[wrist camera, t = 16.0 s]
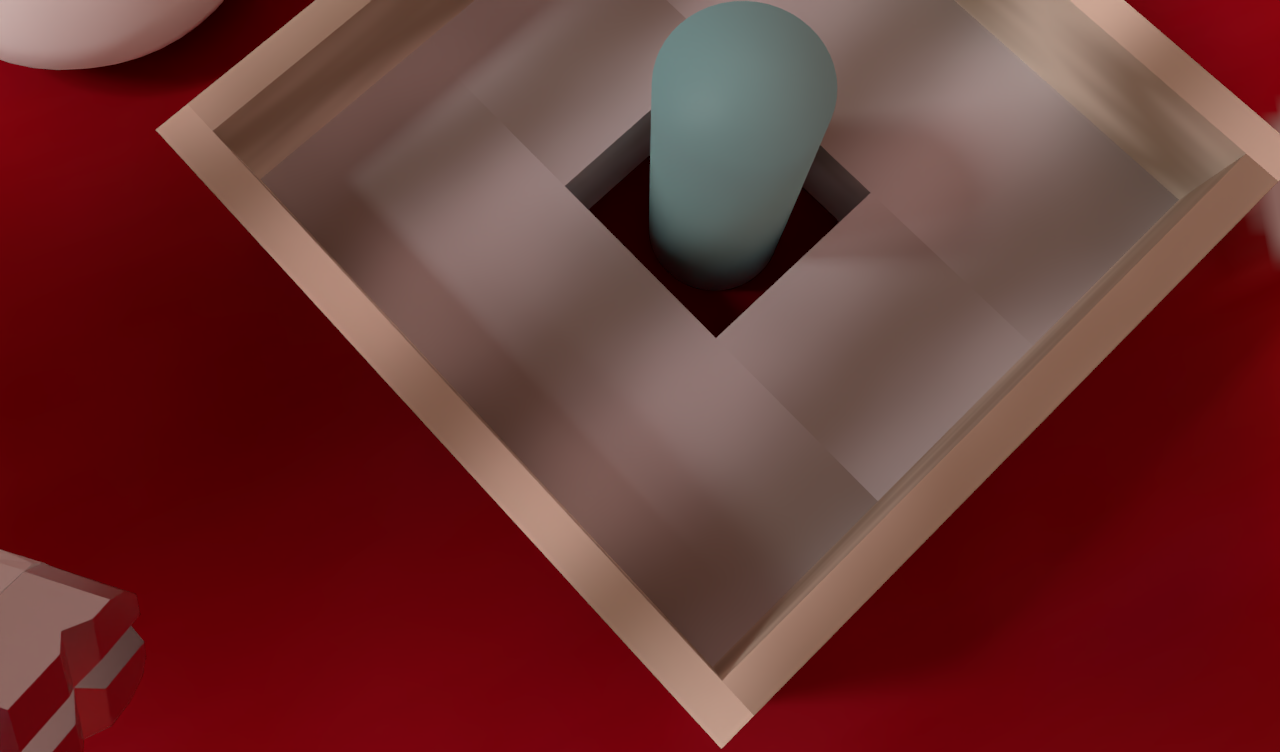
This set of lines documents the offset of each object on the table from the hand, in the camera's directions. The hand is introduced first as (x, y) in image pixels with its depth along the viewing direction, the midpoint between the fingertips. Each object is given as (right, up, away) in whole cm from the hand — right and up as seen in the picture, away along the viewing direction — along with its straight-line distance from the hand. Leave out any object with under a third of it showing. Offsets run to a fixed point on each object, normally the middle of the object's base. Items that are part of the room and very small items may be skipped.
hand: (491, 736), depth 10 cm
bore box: (+4, +8, +19) cm, 21 cm away
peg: (+4, +8, +19) cm, 21 cm away
